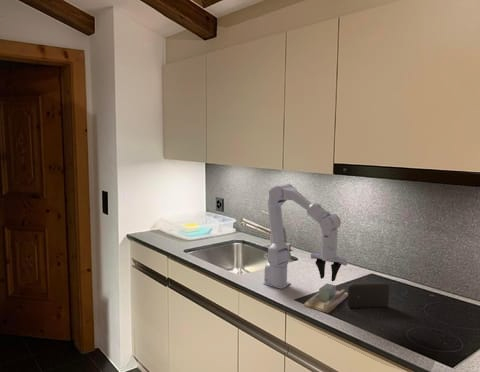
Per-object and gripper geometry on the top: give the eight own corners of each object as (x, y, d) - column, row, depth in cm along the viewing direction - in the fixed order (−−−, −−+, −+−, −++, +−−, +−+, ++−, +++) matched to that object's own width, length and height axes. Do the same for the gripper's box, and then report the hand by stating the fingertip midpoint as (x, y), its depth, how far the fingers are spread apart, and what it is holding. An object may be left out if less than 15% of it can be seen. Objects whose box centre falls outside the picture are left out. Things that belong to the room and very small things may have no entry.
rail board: (304, 306, 154) (304, 299, 153) (325, 289, 170) (325, 284, 169) (328, 313, 148) (328, 306, 147) (348, 295, 164) (348, 289, 164)
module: (318, 299, 157) (319, 288, 157) (326, 293, 163) (326, 283, 162) (328, 302, 155) (328, 291, 154) (335, 296, 161) (336, 285, 160)
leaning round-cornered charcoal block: (383, 302, 158) (385, 279, 156) (389, 307, 153) (391, 284, 152) (344, 304, 156) (345, 280, 155) (348, 309, 151) (349, 285, 150)
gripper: (307, 244, 157) (306, 278, 159) (343, 251, 148) (341, 286, 150) (315, 240, 162) (314, 273, 164) (350, 247, 154) (348, 281, 156)
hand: (327, 279), depth 158 cm, fingers open, 4 cm apart
